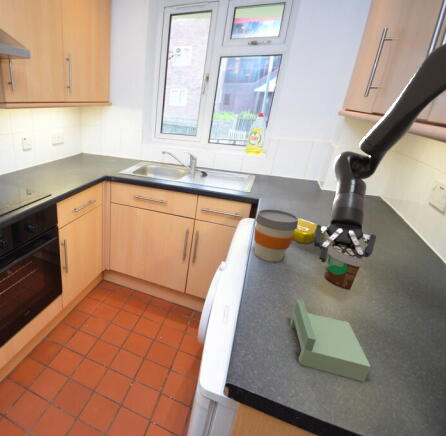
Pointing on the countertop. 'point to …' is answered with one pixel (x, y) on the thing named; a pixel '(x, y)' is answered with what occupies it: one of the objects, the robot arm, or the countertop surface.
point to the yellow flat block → (305, 231)
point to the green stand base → (329, 344)
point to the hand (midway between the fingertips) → (338, 264)
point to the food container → (342, 265)
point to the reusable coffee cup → (274, 233)
